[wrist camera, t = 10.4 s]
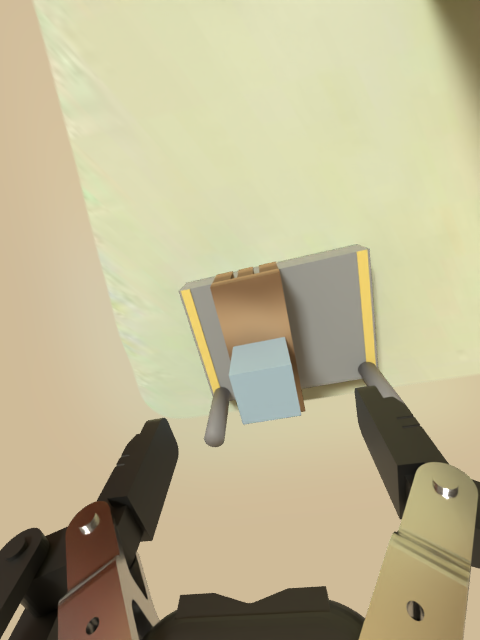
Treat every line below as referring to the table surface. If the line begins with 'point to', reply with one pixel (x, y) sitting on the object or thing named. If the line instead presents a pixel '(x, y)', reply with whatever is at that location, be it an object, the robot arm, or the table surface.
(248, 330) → the pallet
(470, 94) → the table surface
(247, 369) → the pale blue cube
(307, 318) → the dock
